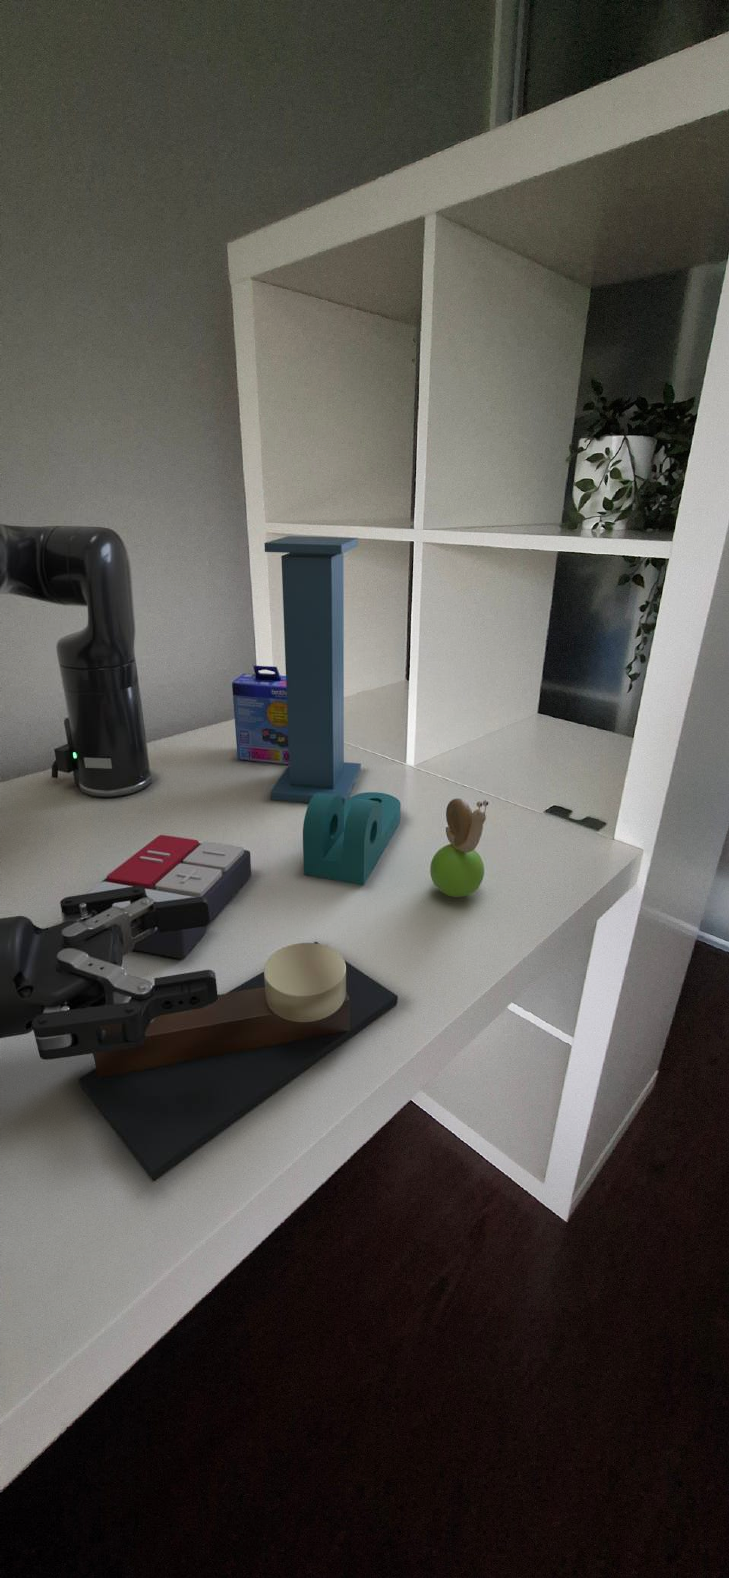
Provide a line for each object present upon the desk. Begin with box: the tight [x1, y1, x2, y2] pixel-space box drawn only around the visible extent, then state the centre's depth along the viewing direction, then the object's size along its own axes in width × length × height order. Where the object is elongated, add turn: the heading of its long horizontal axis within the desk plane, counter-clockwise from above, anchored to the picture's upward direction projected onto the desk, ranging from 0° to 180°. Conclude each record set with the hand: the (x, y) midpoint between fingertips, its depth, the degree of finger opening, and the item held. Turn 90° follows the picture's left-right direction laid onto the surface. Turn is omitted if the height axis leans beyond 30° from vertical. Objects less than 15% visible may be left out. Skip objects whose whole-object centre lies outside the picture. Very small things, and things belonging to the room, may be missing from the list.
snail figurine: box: [429, 798, 489, 898], centre depth 68 cm, size 5×6×12 cm
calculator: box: [85, 834, 252, 959], centre depth 68 cm, size 11×4×15 cm
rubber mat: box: [78, 941, 399, 1181], centre depth 52 cm, size 22×10×1 cm, turn 135°
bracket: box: [302, 791, 402, 886], centre depth 79 cm, size 18×7×8 cm, turn 163°
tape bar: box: [92, 942, 349, 1078], centre depth 50 cm, size 18×6×5 cm, turn 105°
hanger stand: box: [264, 535, 362, 805], centre depth 89 cm, size 12×10×32 cm
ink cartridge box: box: [231, 665, 289, 766], centre depth 101 cm, size 10×6×14 cm, turn 79°
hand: (212, 945), depth 48 cm, fingers open, 8 cm apart
